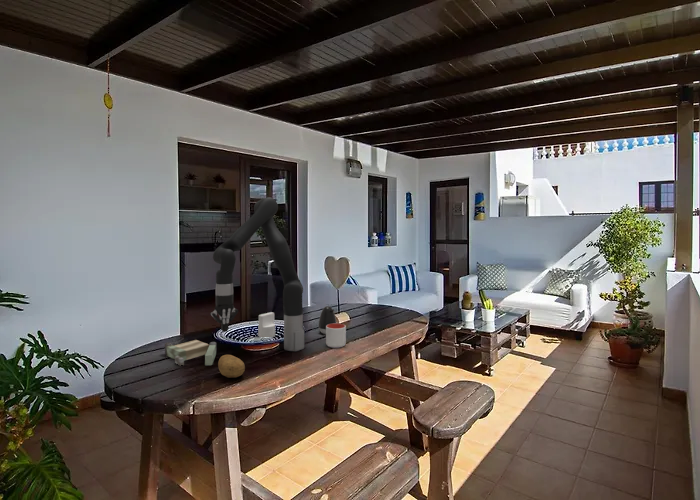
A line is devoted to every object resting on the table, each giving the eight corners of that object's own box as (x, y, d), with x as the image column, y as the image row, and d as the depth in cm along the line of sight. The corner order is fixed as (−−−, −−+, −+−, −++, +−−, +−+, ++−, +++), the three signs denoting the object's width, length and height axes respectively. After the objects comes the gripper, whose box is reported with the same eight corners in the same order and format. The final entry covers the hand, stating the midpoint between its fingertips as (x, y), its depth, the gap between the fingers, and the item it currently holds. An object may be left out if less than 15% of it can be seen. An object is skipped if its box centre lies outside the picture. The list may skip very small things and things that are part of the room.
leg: (210, 352, 191) (210, 342, 190) (216, 352, 191) (216, 341, 191) (205, 365, 174) (204, 354, 174) (211, 365, 175) (211, 353, 174)
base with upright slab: (265, 339, 212) (265, 317, 211) (254, 336, 217) (254, 314, 216) (278, 335, 219) (278, 313, 218) (267, 332, 224) (267, 311, 223)
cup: (348, 343, 206) (349, 324, 205) (340, 349, 197) (340, 329, 196) (331, 341, 210) (331, 322, 209) (322, 346, 201) (322, 327, 200)
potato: (228, 385, 155) (228, 365, 154) (212, 374, 165) (212, 355, 164) (251, 378, 161) (251, 359, 161) (234, 368, 172) (234, 350, 171)
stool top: (215, 355, 187) (215, 344, 187) (180, 366, 174) (180, 354, 173) (193, 346, 199) (192, 336, 199) (158, 355, 186) (158, 344, 185)
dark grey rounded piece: (326, 337, 217) (326, 309, 216) (314, 332, 225) (314, 305, 223) (340, 333, 224) (340, 306, 222) (329, 329, 231) (329, 303, 230)
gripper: (234, 290, 185) (234, 327, 187) (206, 293, 176) (206, 332, 178) (242, 292, 180) (242, 330, 182) (213, 296, 171) (214, 336, 173)
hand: (224, 331), depth 180 cm, fingers closed
